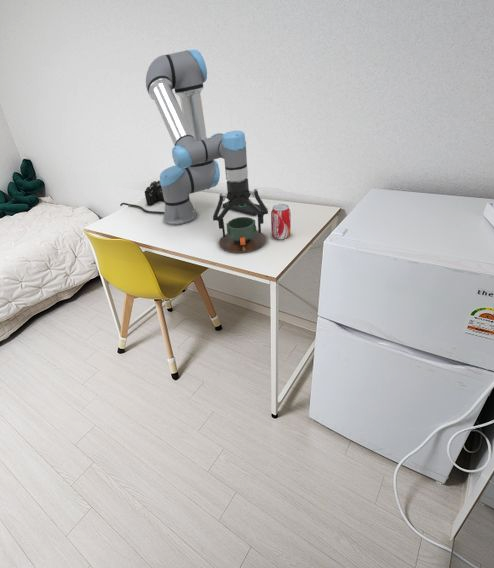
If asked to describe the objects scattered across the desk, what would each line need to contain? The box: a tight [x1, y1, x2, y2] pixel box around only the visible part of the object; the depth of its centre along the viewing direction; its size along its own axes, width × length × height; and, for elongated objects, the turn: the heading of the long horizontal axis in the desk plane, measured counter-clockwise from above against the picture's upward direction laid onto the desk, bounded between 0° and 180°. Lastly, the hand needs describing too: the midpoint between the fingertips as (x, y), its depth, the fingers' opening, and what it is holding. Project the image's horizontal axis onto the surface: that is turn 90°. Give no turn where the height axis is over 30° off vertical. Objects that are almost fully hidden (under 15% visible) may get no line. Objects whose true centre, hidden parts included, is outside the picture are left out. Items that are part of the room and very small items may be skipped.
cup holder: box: [226, 216, 257, 245], centre depth 131 cm, size 14×11×5 cm
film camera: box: [144, 179, 164, 206], centre depth 188 cm, size 18×12×10 cm
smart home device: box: [222, 200, 263, 217], centre depth 162 cm, size 8×2×20 cm
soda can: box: [270, 203, 292, 240], centre depth 131 cm, size 7×7×12 cm
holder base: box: [218, 230, 267, 254], centre depth 135 cm, size 18×18×3 cm
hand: (241, 233), depth 134 cm, fingers open, 13 cm apart
